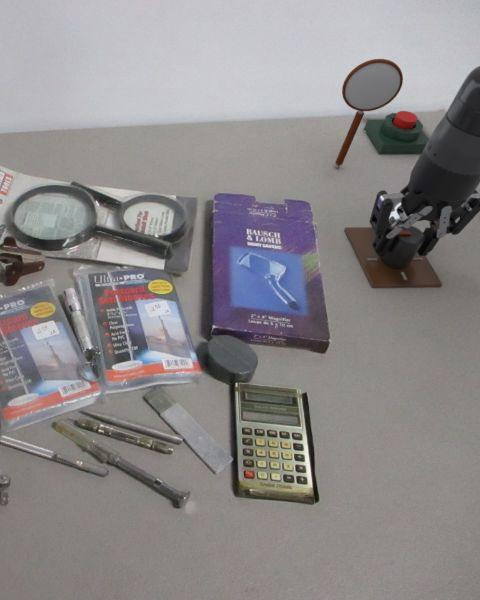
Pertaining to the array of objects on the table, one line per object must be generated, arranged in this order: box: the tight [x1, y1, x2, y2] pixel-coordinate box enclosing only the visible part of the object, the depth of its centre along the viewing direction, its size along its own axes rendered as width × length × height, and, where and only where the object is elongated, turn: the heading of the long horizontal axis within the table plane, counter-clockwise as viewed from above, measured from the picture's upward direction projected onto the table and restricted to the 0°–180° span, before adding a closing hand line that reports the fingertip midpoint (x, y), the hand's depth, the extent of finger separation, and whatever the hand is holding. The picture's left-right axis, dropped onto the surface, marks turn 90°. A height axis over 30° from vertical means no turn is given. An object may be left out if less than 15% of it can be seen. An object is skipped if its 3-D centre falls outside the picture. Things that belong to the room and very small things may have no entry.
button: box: [393, 110, 419, 130], centre depth 107 cm, size 4×4×2 cm
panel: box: [343, 226, 443, 289], centre depth 88 cm, size 10×12×3 cm
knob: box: [381, 225, 425, 269], centre depth 85 cm, size 4×4×5 cm
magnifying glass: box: [334, 58, 404, 169], centre depth 97 cm, size 9×2×20 cm, turn 81°
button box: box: [363, 112, 430, 155], centre depth 109 cm, size 9×8×4 cm
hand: (399, 251), depth 85 cm, fingers open, 5 cm apart
